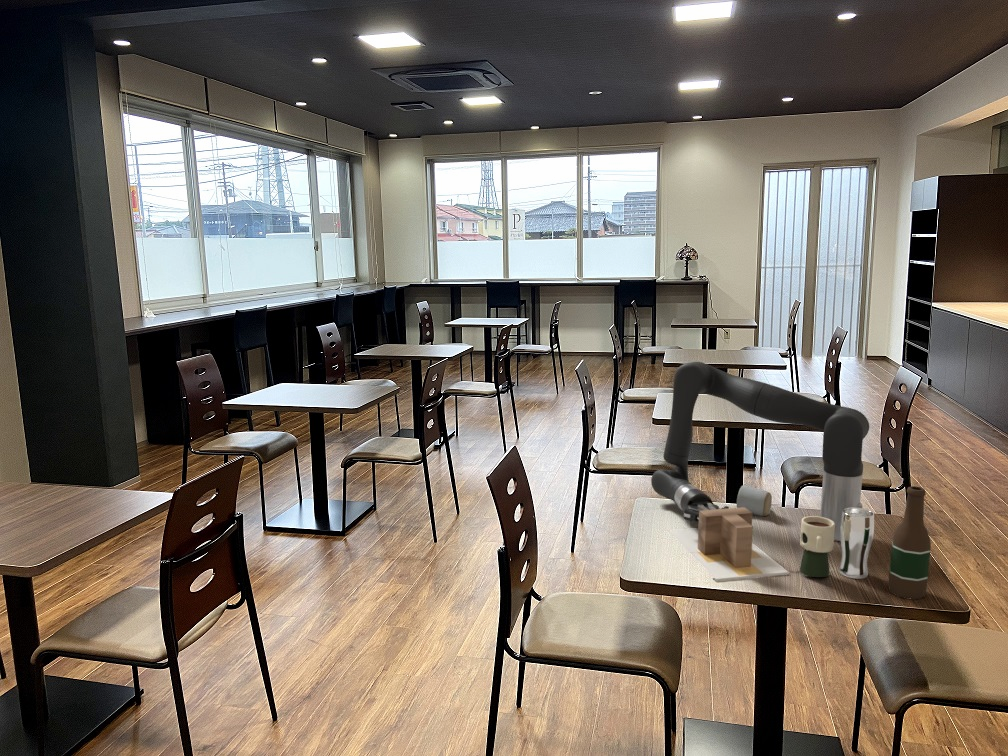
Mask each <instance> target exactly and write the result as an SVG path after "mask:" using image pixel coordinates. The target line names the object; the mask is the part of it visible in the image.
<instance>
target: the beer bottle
mask: <svg viewBox="0 0 1008 756" xmlns="http://www.w3.org/2000/svg"><path fill="white" fill-rule="evenodd" d="M906 493H907V498H906V504H905V510H904V515H903V518H902V521H901V522H900V523H898V525H896V527H895V529H894V531H893V533H892V540H891V550H890V558H889V559H890V561H889V571H888V590H889V592H890V593H891V592H892V593H891V594H893V593H894V594H893V595H895V594H896V595H895V596H897V595H898V596H897V597H899V596H900V597H899V598H901V597H905V598H904V599H907V598H911V599H910V600H913V599H916V600H919V599H918V598H920V599H923V598H922V597H924V598H925V597H926V593H927V590H928V589H927V587H928V579H929V568H930V560H931V559H930V558H931V550H932V549H931V547H932V545H931V539H930V536H929V535H930V534H929V531H928V529H927V528H926V526H925V521H924V513H925V511H924V510H925V509H924V507H925V506H924V505H925V496H926V495H927V493H926V489H925V488H923V487H920V486H915V485H913V486H908V487H907V489H906Z"/></svg>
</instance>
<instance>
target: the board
mask: <svg viewBox="0 0 1008 756" xmlns="http://www.w3.org/2000/svg"><path fill="white" fill-rule="evenodd" d="M698 528H699V527H692V528H691V527H690V528H679V529H677V528H676V529H668V530H667V532H668V533H669V534H670V535H671V536H672V537H673V538H674V539H675V540H676V541H677V542H678V543H679V544H680V545H681V546H682V547H683V548H684V549H685V550H686V551H687V552H688V553H689V554H690V555H691V556H692V557H693V558H694V559H695V561H697V562H698V563H699V564H700V566H702V567H703V568H704V569H705V571H707V573H709V574H710V576H712V580H714V582H722V581H723V582H724V581H733V580H744V579H752V578H753V579H755V578H766V577H774V576H775V577H776V576H785V575H789V571H788V570H786V569H785V568H784V567H783V566H781V564H779V563H778V562H777V561H775V560H774V559H773V558H772V557H770V556H769V555H768V554H767V553H765V551H763V550H761V548H759V547H758V546H757V545H756V544H755V543H753V542H752V554H751V567H742V568H734V567H733V566H732V565H731V564H730V563H729V562H728V561H727V560H726V559H725V558H724V557H722V556H721V555H720V554H715V555H704V554H703V553H702V552H701V551H699V550H698Z"/></svg>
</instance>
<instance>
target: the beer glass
mask: <svg viewBox="0 0 1008 756" xmlns="http://www.w3.org/2000/svg"><path fill="white" fill-rule="evenodd" d="M874 532H875V513H874V511H872V510H869V509H867V508H863V507H862V508H858V507H848V508H844V509H843V514H842V519H841V527H840V537H841V541H840V546H841V562H840V564H839V568H838V569H839V570H838V571H839V573H840V574H841V575H842V576H844V577H846V578H850V579H855V580H863V579H865V578H867V577H868V574H869V573H868V570H869V569H868V557H869V553H870V551H871V547H872V544H873V541H874V534H875V533H874Z"/></svg>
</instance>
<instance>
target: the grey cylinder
mask: <svg viewBox="0 0 1008 756" xmlns="http://www.w3.org/2000/svg"><path fill="white" fill-rule="evenodd" d="M772 499H773V496H772V493H771V492H769V491H768V490H764V489H761V488H756V487H753V486H749V485H741V486H740V488H739V490H738V494H737V498H736V508H741V507H745V508H746V509H748V510H749V511H750V512H752V515H754V516H761V517H767V516H768V515H769V513H770V510H771V507H772V504H773V503H772V502H773V500H772Z"/></svg>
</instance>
